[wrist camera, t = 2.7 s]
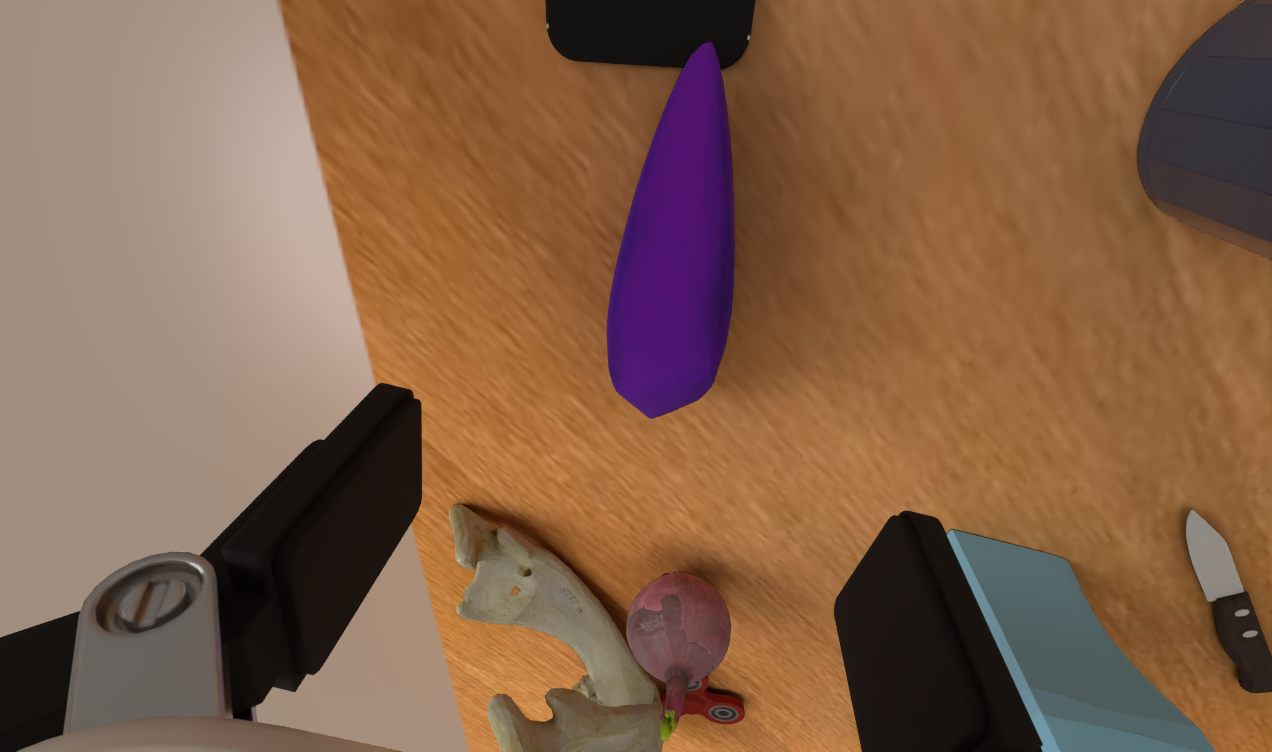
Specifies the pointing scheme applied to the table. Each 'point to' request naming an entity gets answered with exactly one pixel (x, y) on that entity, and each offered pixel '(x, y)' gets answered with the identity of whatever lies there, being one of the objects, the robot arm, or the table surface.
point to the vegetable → (678, 636)
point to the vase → (1067, 656)
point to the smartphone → (649, 30)
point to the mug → (1217, 133)
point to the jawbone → (565, 608)
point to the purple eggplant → (677, 252)
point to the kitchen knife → (1230, 605)
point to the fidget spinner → (710, 704)
